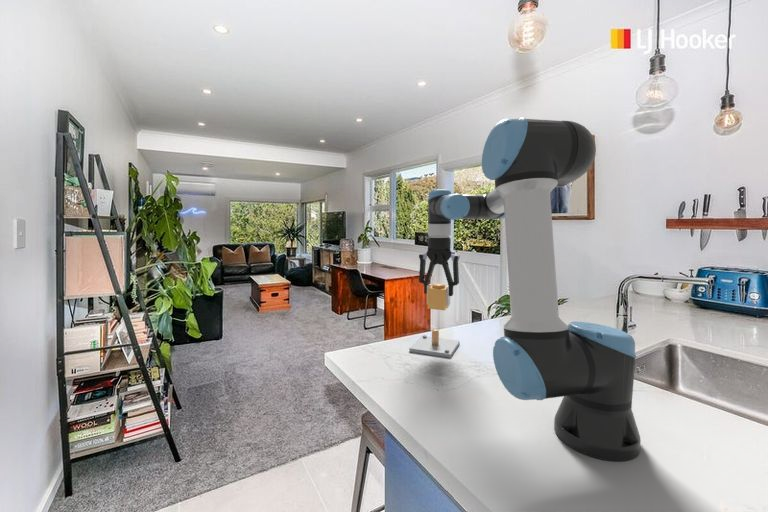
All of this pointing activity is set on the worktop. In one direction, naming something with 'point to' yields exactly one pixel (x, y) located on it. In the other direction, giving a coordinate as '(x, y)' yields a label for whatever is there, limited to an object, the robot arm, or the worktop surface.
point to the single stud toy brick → (436, 297)
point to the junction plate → (435, 345)
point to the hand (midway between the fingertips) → (438, 304)
